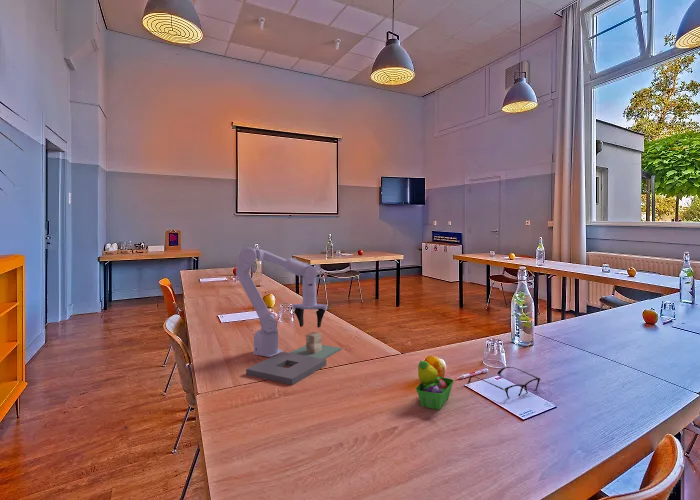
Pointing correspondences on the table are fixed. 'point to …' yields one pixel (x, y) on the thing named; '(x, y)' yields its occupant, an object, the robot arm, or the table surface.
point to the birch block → (313, 342)
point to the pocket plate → (291, 375)
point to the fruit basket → (432, 386)
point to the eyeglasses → (513, 385)
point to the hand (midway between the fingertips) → (310, 326)
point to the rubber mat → (321, 354)
